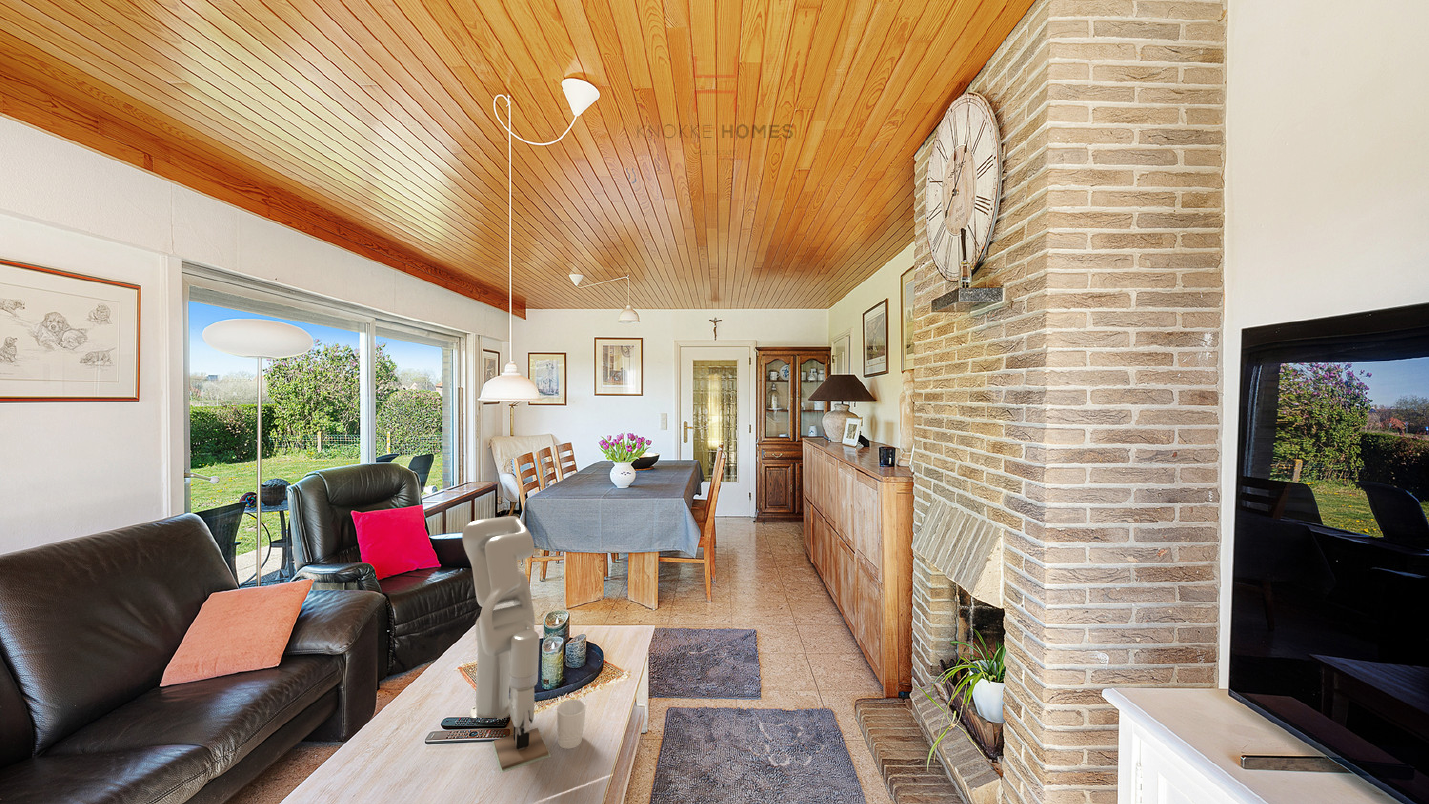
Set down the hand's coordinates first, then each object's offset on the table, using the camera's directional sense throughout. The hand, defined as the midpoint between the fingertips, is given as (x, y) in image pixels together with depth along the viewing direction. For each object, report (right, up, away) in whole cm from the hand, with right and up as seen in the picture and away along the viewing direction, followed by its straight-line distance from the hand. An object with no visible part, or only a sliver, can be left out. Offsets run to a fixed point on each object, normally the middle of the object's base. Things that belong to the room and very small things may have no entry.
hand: (521, 742), depth 145 cm
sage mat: (0, -2, 0) cm, 2 cm away
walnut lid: (0, -2, 0) cm, 2 cm away
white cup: (+13, -3, +4) cm, 14 cm away
